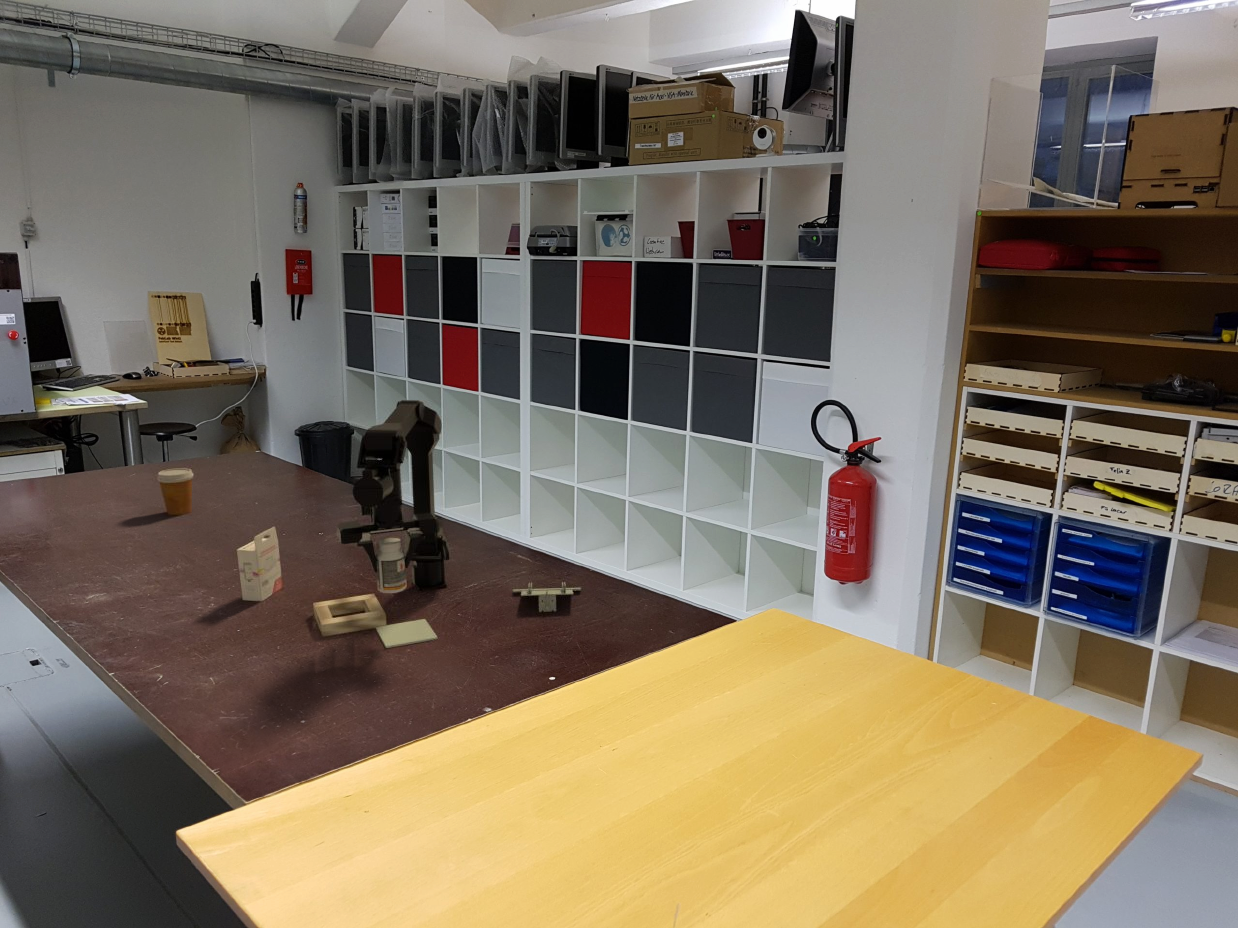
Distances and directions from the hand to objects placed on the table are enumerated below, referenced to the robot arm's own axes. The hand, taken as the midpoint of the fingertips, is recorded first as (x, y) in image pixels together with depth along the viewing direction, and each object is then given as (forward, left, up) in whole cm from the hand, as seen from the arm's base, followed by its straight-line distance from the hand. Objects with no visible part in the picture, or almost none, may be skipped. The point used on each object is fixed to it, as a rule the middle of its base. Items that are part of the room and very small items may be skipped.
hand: (391, 569), depth 183 cm
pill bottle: (0, 0, -4) cm, 4 cm away
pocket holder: (+7, -10, -13) cm, 18 cm away
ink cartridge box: (+22, -33, -13) cm, 42 cm away
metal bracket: (-34, -3, -14) cm, 36 cm away
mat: (-2, +2, -13) cm, 13 cm away
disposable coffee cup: (+38, -111, -13) cm, 118 cm away
